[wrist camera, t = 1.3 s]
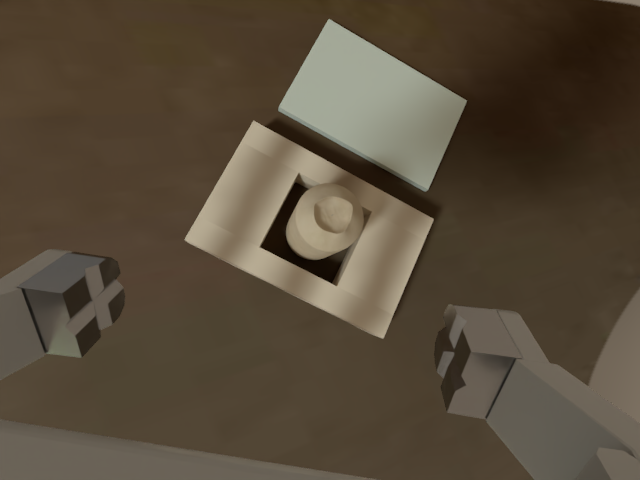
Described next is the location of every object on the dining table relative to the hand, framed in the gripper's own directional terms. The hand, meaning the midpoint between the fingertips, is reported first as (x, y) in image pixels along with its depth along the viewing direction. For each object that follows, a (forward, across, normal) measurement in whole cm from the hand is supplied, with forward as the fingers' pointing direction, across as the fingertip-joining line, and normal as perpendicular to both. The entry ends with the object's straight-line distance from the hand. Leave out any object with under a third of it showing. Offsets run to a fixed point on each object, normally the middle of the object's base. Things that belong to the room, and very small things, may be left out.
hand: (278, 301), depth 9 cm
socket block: (+25, +1, +11) cm, 27 cm away
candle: (+25, +1, +11) cm, 28 cm away
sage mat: (+35, -4, 0) cm, 35 cm away
